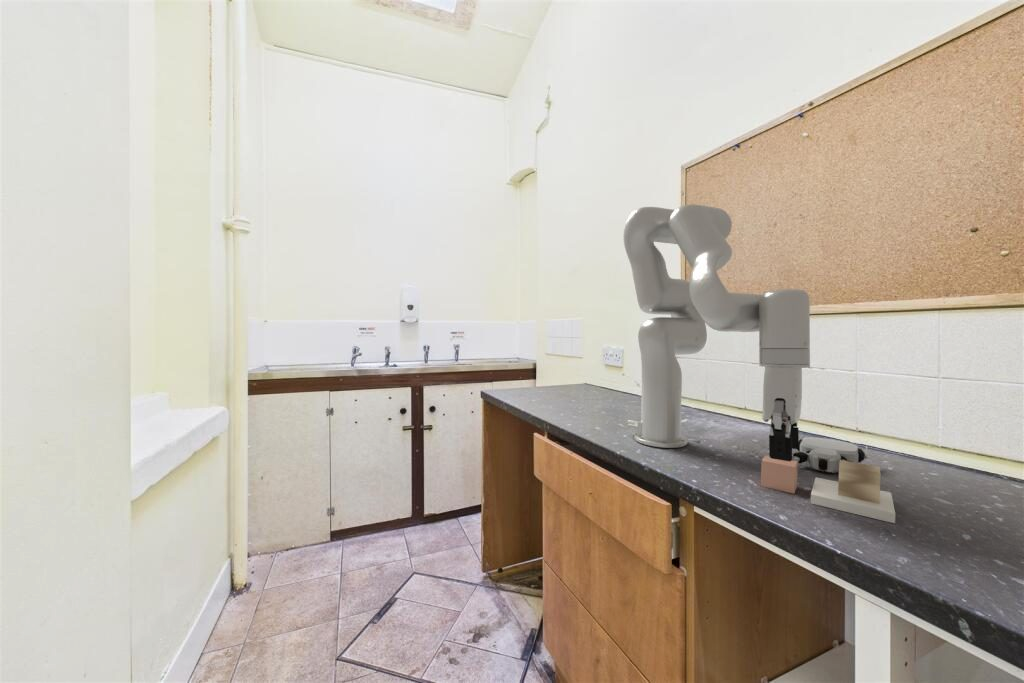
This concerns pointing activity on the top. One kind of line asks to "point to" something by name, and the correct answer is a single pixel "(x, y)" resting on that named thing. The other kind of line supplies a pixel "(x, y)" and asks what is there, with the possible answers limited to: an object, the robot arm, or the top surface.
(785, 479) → the clay brick
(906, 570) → the top surface
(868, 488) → the beech brick
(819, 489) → the base plate
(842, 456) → the robot toy
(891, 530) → the top surface
